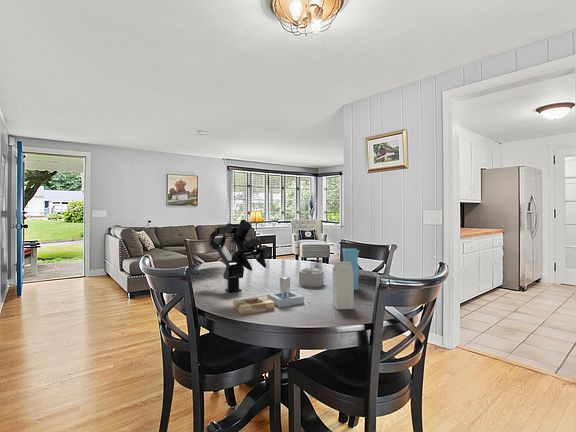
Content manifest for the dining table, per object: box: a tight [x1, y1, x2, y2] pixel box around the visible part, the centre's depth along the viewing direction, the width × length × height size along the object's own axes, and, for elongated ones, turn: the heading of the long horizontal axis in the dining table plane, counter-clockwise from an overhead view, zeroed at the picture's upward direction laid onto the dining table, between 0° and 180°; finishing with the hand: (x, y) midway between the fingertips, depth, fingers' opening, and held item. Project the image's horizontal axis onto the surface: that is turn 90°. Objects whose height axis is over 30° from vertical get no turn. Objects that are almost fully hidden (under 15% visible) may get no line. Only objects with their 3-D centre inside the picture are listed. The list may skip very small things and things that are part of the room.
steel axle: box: [279, 276, 291, 298], centre depth 146 cm, size 4×4×10 cm
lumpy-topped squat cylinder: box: [298, 266, 324, 288], centre depth 179 cm, size 10×13×9 cm
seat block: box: [266, 289, 305, 308], centre depth 146 cm, size 12×12×3 cm
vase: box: [341, 248, 361, 291], centre depth 170 cm, size 8×8×20 cm
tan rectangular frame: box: [232, 295, 276, 316], centre depth 136 cm, size 10×14×3 cm
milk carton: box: [332, 261, 355, 311], centre depth 137 cm, size 7×7×19 cm
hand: (258, 268), depth 152 cm, fingers open, 9 cm apart
